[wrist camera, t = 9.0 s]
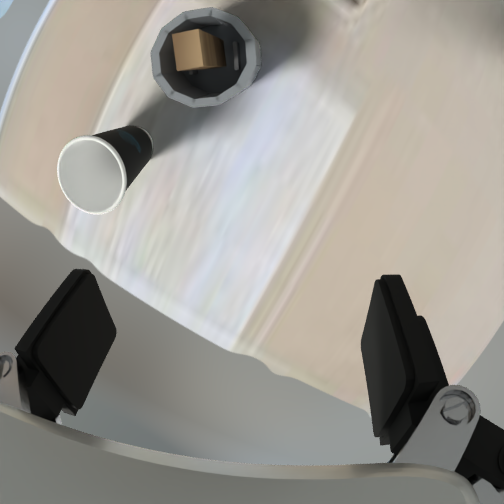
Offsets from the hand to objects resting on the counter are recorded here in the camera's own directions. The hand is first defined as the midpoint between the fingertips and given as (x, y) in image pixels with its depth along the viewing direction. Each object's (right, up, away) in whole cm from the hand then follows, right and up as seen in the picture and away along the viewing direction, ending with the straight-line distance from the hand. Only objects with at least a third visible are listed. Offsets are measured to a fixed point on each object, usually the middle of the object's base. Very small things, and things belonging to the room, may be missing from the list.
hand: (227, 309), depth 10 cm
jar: (-3, +22, +19) cm, 30 cm away
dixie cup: (-13, +15, +26) cm, 32 cm away
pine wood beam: (-3, +22, +19) cm, 29 cm away
